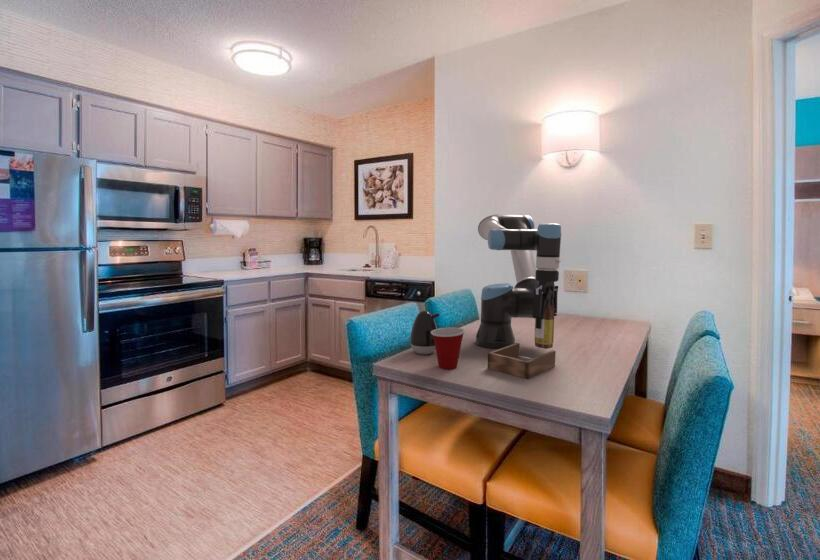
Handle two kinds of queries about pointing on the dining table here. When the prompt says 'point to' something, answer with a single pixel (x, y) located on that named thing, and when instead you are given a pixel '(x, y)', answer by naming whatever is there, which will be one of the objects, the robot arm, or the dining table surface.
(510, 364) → the frame
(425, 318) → the pump dispenser
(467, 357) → the dining table surface
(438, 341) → the plastic cup
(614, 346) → the dining table surface
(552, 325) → the sauce bottle
